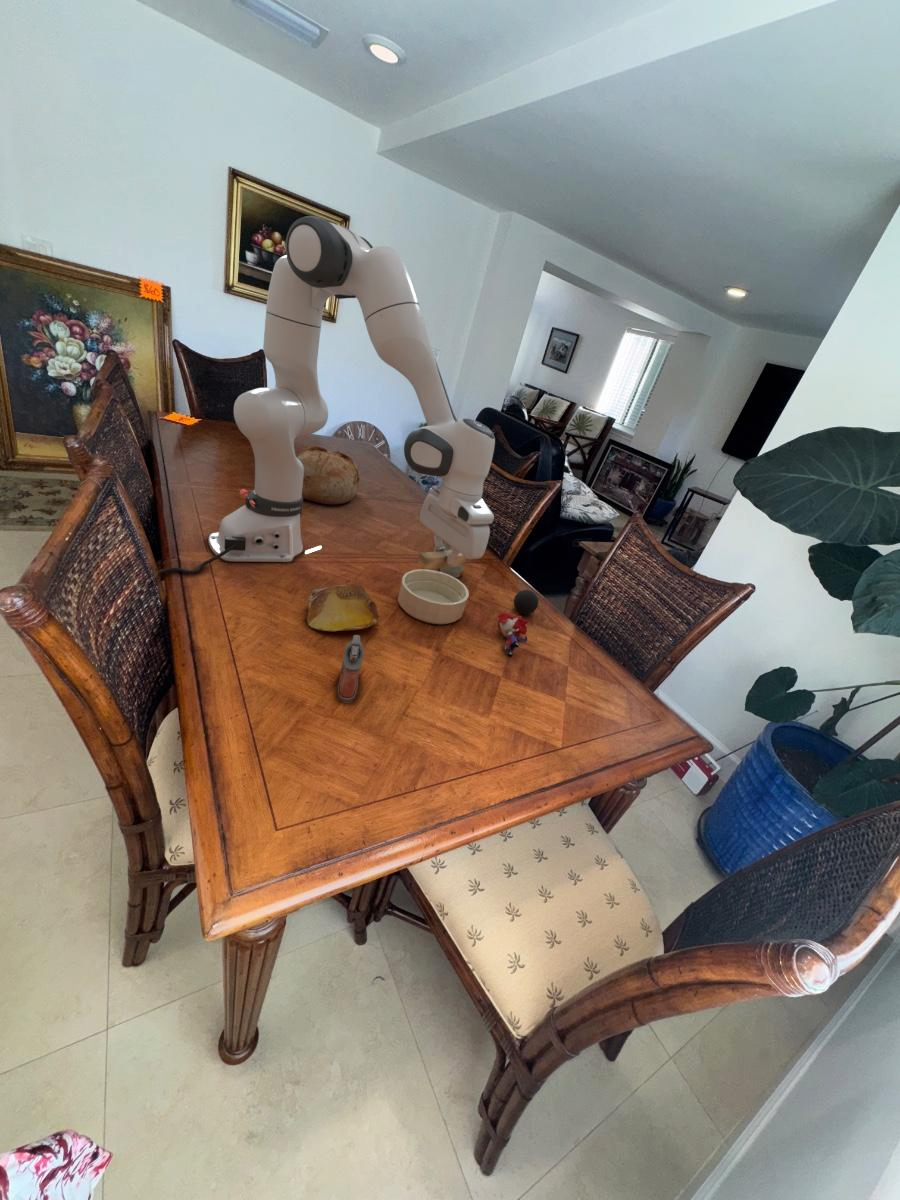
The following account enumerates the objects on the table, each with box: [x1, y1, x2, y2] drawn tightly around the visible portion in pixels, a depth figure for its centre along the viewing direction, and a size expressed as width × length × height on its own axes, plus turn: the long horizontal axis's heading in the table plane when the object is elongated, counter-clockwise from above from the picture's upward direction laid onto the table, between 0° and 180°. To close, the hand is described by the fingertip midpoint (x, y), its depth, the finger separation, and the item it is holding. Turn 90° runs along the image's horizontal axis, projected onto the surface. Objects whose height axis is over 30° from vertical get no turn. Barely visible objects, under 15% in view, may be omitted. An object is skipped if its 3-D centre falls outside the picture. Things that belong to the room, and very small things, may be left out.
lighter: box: [337, 634, 365, 704], centre depth 84 cm, size 8×3×10 cm, turn 5°
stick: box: [416, 550, 468, 570], centre depth 110 cm, size 12×3×3 cm, turn 127°
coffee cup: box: [439, 540, 465, 579], centre depth 135 cm, size 9×8×12 cm
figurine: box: [497, 612, 530, 658], centre depth 112 cm, size 6×8×15 cm
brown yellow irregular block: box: [306, 583, 380, 632], centre depth 104 cm, size 17×8×15 cm
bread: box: [296, 445, 361, 506], centre depth 164 cm, size 26×23×15 cm
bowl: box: [397, 568, 470, 625], centre depth 117 cm, size 16×16×6 cm
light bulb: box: [513, 589, 539, 615], centre depth 128 cm, size 6×6×10 cm
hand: (443, 558), depth 109 cm, fingers closed on stick, 3 cm apart
